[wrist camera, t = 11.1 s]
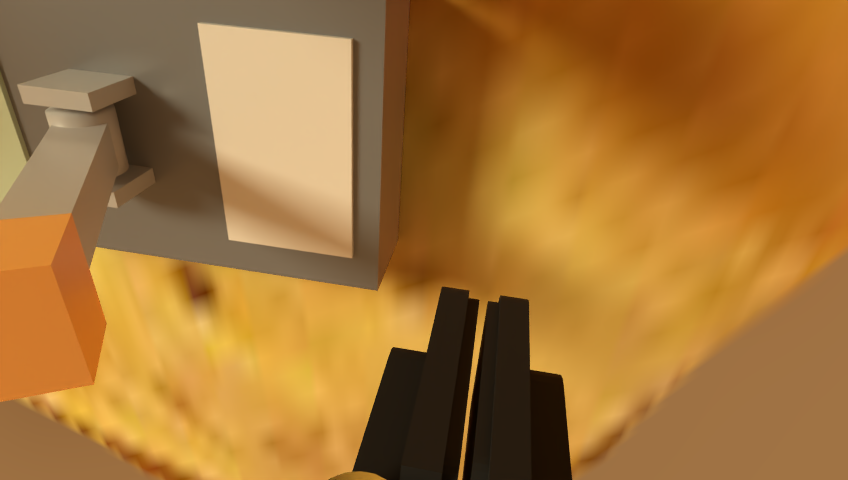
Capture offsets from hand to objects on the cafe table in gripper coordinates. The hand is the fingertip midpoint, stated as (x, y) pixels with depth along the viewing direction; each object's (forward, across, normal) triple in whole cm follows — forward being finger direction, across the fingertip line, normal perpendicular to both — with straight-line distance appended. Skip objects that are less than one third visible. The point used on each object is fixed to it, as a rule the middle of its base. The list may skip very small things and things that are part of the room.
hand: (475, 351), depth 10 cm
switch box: (+13, +14, 0) cm, 19 cm away
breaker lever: (+7, +14, 0) cm, 16 cm away
